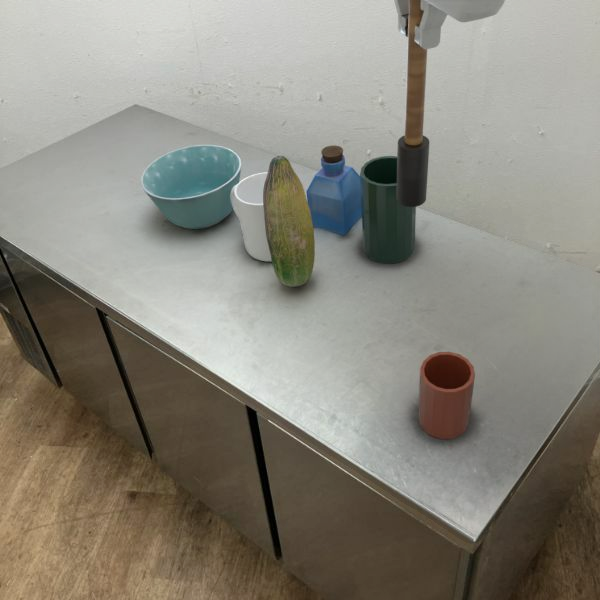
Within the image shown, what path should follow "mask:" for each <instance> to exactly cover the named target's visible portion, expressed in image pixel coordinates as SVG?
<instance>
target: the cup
mask: <svg viewBox="0 0 600 600" xmlns="http://www.w3.org/2000/svg"><path fill="white" fill-rule="evenodd" d="M359 176H360V183H361V208H362V217H361V228H362V230H361V231H362V245H363V248H362V249H363V252H364V254H365V256H366V257H367V258H368V259H370V260H372V261H373V262H376V263H379V264H387V265H388V264H389V265H391V264H398V263H401V262H404V261H407V260H408V259H409V258H410V257H411V256H413V254H414V252H415V248H416V223H417V222H416V219H417V215H416V214H417V207H406V206H403V205H401V204H399V203H398V202H397V199H396V192H397V155H384V156H383V155H382V156H378V157H374V158H371V159H370V160H368V161H366V162H365V163H363V165H362V166H361V167H360V170H359Z"/></svg>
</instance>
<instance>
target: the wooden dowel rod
mask: <svg viewBox="0 0 600 600" xmlns="http://www.w3.org/2000/svg"><path fill="white" fill-rule="evenodd" d="M423 13H424V11H423V10H421V0H409V14H408V37H407V45H406V46H407V50H406V53H407V54H406V56H407V57H406V79H405V80H406V83H405V84H406V85H405V111H404V112H405V115H404V135H402V136H400V137H399V138H398V140H397V148H396V149H397V152H396V153H397V155H396V156H397V192H396V199H397V202H398V203H399V204H401V205H403V206H406V207H416V208H417V207H420V206H422V205H423V204H425V203H426V201H427V191H428V176H429V175H428V172H429V155H430V139H429V138H428V137H427V136H425V135H424V123H425V122H424V121H425V117H424V116H425V104H426V103H425V102H426V101H425V99H426V85H427V84H426V81H427V66H428V65H427V63H428V62H427V61H428V49H426V50H425V49H423V48H422V47H420V46H419V45H418V44H416V43H415V41H414V38H415V25H417V24H420V23H421V20H422V16H423Z"/></svg>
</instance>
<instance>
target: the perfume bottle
mask: <svg viewBox="0 0 600 600" xmlns="http://www.w3.org/2000/svg"><path fill="white" fill-rule="evenodd" d="M320 152H321V157H320V165H321V169H320V170H318V172H317V173H315V175H314V176H313V178H312V179H311V182H310V184H309V186H308V188H307V189H306V193H305V194H306V200H307V203H308V206H309V209H310V213H311V219H312V223H313V228H317V229H322V230H325V231H328V232H332V233H335V234H338V235H342V236H346V235H347V234H348V233H349V232H350V230H351V229H352V228H353V227H354V226H355V225H356V224H357V222H358V221H359V220H360V219H362V208H361V183H360V173H358V172H357V171H356V170H355V168H353V166H348V165H346V158H345V155H344V154H343V153H344V148H343V147H342V146H340V145H336V144H335V145H333V144H332V145H327V146H325V147H323V148H322V149H321V151H320Z"/></svg>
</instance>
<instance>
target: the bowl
mask: <svg viewBox="0 0 600 600" xmlns="http://www.w3.org/2000/svg"><path fill="white" fill-rule="evenodd" d="M241 173H242V159H241V157H240V155H239V154H238V153H237V152H235V151H234V150H232V149H230V148H228V147H225V146H223V145H222V146H221V145H216V144H215V145H214V144H195V145H189V146H184V147H180V148H177V149H174V150H171V151H169V152H167V153H165V154H163V155H161V156H159V157H158V158H156V159H155V160H153V161H152V162H151V163H150V164H149V165H148V166H146V168H145V169H144V170H143V172H142V174H141V177H140V185H141V187H142V189H143V191H144V193H145V194H146V195H147V196H148V197H149V198H150V200H151V201H152V203H153V204H154V206H156V207H157V208H158V210H159V211H160V212H161V213H162V214H163V215H164V217H165V218H166V219H167V220H168V221H169V222H170V223H171V224H173V225H175V226H178V227H181V228H185V229H190V230H200V229H201V230H202V229H206V228H209V227H212V226H215V225H217V224H219V223H220V222H222V221H223V220H224V219H225V218H226V217H227V216H229V215H230V214H231V212H232V211H233V207H232V204H231V199H230V193H231V190H232V188H233V187H234V186H235V185H237V184H238V183H239V182H240V179H241Z"/></svg>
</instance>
